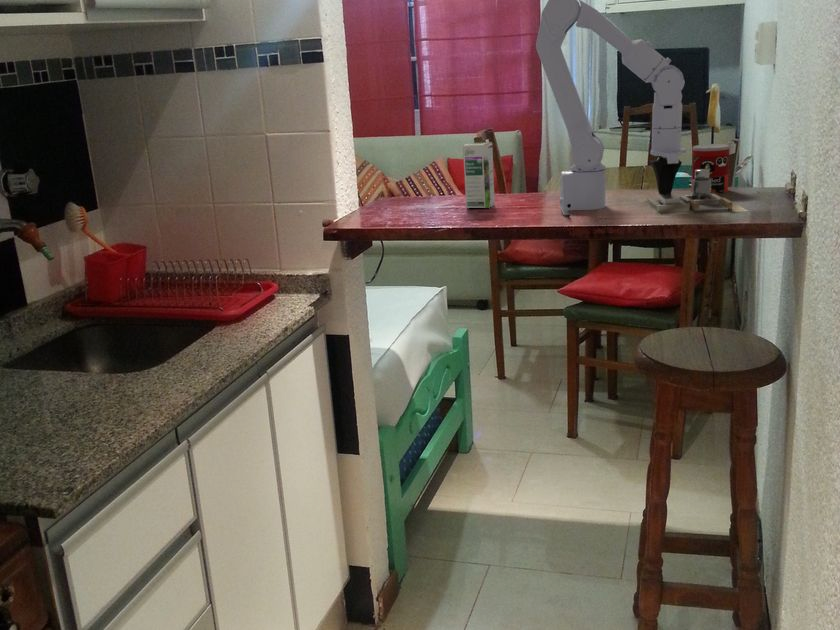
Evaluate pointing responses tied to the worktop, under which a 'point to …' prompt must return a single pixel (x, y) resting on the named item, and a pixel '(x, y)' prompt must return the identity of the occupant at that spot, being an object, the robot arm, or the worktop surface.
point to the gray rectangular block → (668, 199)
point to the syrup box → (478, 175)
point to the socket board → (695, 205)
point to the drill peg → (701, 185)
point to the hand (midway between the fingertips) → (664, 194)
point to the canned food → (712, 165)
